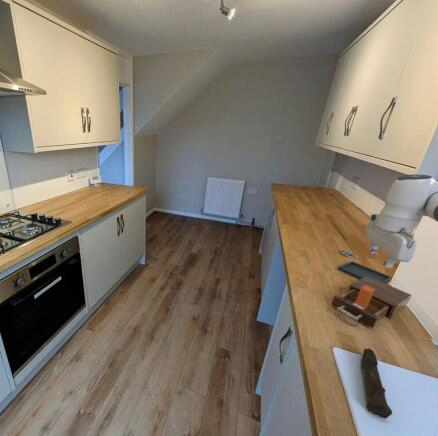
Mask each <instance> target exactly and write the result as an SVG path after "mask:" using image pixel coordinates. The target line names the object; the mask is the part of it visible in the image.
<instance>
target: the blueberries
mask: <svg viewBox="0 0 438 436" xmlns="http://www.w3.org/2000/svg"><path fill="white" fill-rule="evenodd" d="M340 253H341V254H342V255H344V256H345V257H348V258H351V259H352V258H353V259H358V258H359V257H358V256H357V255H355V254H353V253H352V252H350V251H347V250H344V249H343V250H342V249H341V250H340Z"/></svg>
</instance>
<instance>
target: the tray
mask: <svg viewBox="0 0 438 436" xmlns="http://www.w3.org/2000/svg"><path fill="white" fill-rule="evenodd" d="M337 271H339V272H340V273H343V274H345V275H348V276H350V277H353V278H354V277H355V278H354V279H357V280H360V279H362V278H364V277H365V276H368V277H371V278H373V279H376V280H378V281H380V282H383V283H385V284H387V283H389V282H390V281H391V280H392V276H390V275H388V274H385V273H382V272H380V271H378V270H375V269H372V268H370V267H368V266H365V265H363V264H360V263H359V262H358V263H357V262H355V261H354V260H353V261H352V260H351V261H349V262H346V263H344V264H342V265H339V266H338V268H337Z"/></svg>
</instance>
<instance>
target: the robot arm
mask: <svg viewBox="0 0 438 436" xmlns="http://www.w3.org/2000/svg"><path fill="white" fill-rule="evenodd" d="M424 216H425V217H428V218H430V219H432V220H434V221H436V223H438V180H436V179H435V178H434V177H433V176H432V175H428V174H416V173H415V174H405V175H401V176H399V177H397V178H396V179H395V180H394V182H393V183H392V184H391V186H390V188H389V190H388V192H387V195H386V197H385V200H384V206H383V207H382V209H381V210H380V212H379V213H371V214H370V216H369V222H368V224H367V227H366V230H365V237H366V238H367V239H368V240H370V243H369V244H370V245H369V246H370V249H369V253H370V254H371V255H373V256H376V255H378V253H379V249H380V250H382V252H384V253H386V254H387V255H388V257H387V258H388V259H387V260H384V262H383V266H384V267H385V268H387V269H393V267H394V266H395V264H397V263H398V262H401V263H402V262H403V263H409V262H411V261H412V260H413V258H414V255H415V251H416V248H417V240H416V238H415V234H414V233H413V231H414V230H415V227H416V225H417V223H418V222H419V221H418V220H419V219H420V218H421V217H424Z"/></svg>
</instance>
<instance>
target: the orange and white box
mask: <svg viewBox="0 0 438 436" xmlns="http://www.w3.org/2000/svg"><path fill="white" fill-rule="evenodd" d="M374 290H375V289H373V288H371V287H369V286H367V285H365V286H363V287H362V288H361V289H360V292H359V294H358V297H357V299H356V302H355V303H354V304H353V305H355V306H357V307H358V308H360V309H362V310H365V309H367V306H368V304H369V302H370V299H371V297H372V295H373V292H374Z"/></svg>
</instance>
